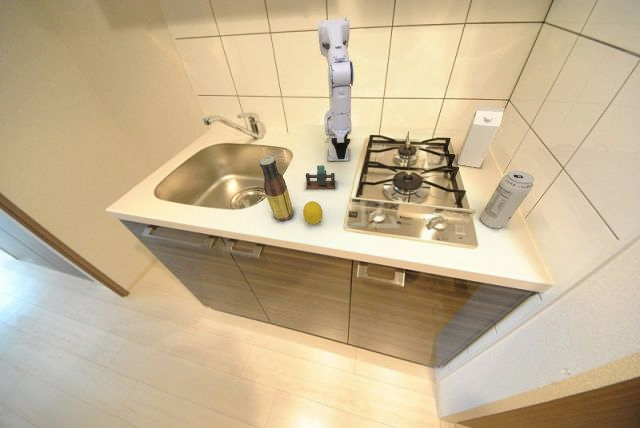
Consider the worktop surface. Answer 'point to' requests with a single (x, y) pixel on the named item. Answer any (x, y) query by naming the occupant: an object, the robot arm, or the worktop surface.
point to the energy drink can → (507, 198)
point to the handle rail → (314, 185)
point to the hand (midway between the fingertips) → (341, 152)
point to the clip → (321, 175)
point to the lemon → (312, 212)
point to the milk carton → (480, 136)
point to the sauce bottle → (276, 189)
